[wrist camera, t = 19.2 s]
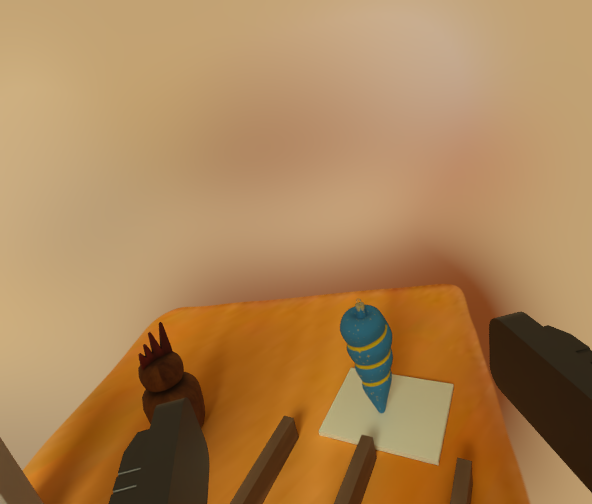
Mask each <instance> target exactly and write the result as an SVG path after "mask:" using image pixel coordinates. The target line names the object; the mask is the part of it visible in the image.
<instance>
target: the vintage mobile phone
mask: <svg viewBox="0 0 592 504" xmlns="http://www.w3.org/2000/svg"><path fill="white" fill-rule="evenodd" d="M0 504H44V503H43V502H42V500H41V499H40V497H39V496H38V494H37V493H36V491H35V490H34V488H33V487H32V485H31V484H30V482H29V481H28V479H27V477H26V476H25V474H24V473H23V471H22V470H21V468H20V467H19V465H18V464H17V462H16V461H15V459H14V458H13V456H12V455H11V453H10V452H9V450H8V449H7V447H6V446H5V444H4V442H3V441H2V439H1V438H0Z"/></svg>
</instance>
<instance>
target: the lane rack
mask: <svg viewBox="0 0 592 504" xmlns="http://www.w3.org/2000/svg"><path fill="white" fill-rule="evenodd" d="M298 438H299V437H298V433H297V429H296V426H295V422H294V418H291V417H287V416H284V417H283V419H282V420H281V422H280V423H279V425H278V427H277V428H276V430H275V431H274V433H273V435H272V436H271V438H270V440H269V441H268V443H267V444H266V446H265V448H264V449H263V451H262V452H261V454H260V456H259V457H258V459H257V461H256V462H255V464H254V465H253V467H252V469H251V470H250V472H249V473H248V475H247V477H246V478H245V480H244V482H243V483H242V485H241V486H240V488H239V490H238V491H237V493H236V494H235V496H234V498H233V499H232V501H231V503H230V504H262V503H263V501H264V499H265V498H266V496H267V494H268V492H269V490H270V489H271V487H272V485H273V483H274V481H275V480H276V478H277V476H278V474H279V472H280V470H281V469H282V467H283V465H284V463H285V461H286V460H287V458H288V456H289V454H290V452H291V450H292V449H293V447H294V445H295V443H296V441H297V440H298ZM375 461H376V452H375V446H374V440H373V437H370V436H366V435H361V437H360V440H359V442H358V445H357V447H356V450H355V452H354V455H353V457H352V460H351V462H350V465H349V467H348V470H347V472H346V475H345V477H344V480H343V482H342V485H341V487H340V490H339V492H338V495H337V497H336V500H335V502H334V504H361V502H362V499H363V496H364V493H365V490H366V487H367V485H368V482H369V479H370V476H371V473H372V470H373V467H374V464H375ZM472 485H473V482H472V461H469V460H465V459H461V458H457V463H456V470H455V476H454V483H453V489H452V495H451V502H450V504H470V502H471V493H472Z"/></svg>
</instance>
